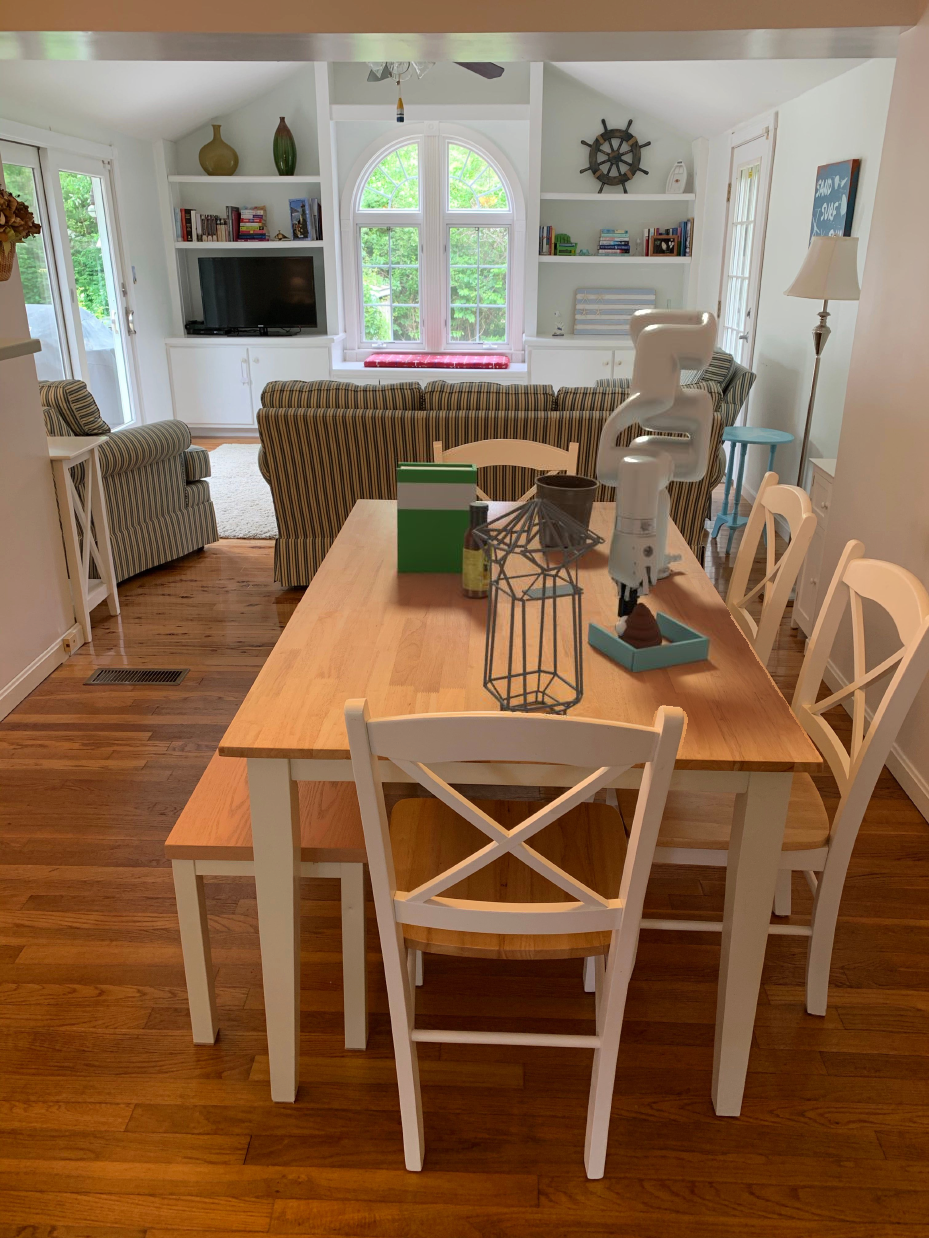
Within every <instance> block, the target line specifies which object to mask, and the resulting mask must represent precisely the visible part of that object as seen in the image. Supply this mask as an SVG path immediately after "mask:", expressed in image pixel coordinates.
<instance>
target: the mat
mask: <svg viewBox="0 0 929 1238" xmlns="http://www.w3.org/2000/svg"><path fill="white" fill-rule="evenodd" d="M526 590H527V589H522V590H521V592H522V593H523V594H524V593H525V591H526ZM572 592H573V588H572V586H571V584H569V583H565V584H558V585H557V584H556V595H560V594H567V593H572ZM582 594H584V590H583V591H581V595H582ZM552 595H553V585H551V586H546V592H545V596H552ZM526 596H528V597H530V598H536V597H542V587H534V588H530V590H529V591H528V592H527V594H526Z"/></svg>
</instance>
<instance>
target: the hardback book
mask: <svg viewBox="0 0 929 1238" xmlns="http://www.w3.org/2000/svg"><path fill="white" fill-rule="evenodd" d="M397 466H398V467H396V508H397V509H396V518H397V519H396V521H397V522H396V529H397V531H396V535H397V539H396V540H397V541H396V542H397V544H396V545H397V547H396V549H397V550H396V552H397V554H396V555H397V556H396V557H397V559H396V561H397V564H396V567H397V568H396V569H397V573H399V574H456V575H457V574H458V575H459V574H461V575H463V546H464V534H465V532H466V530H467V529H468V527H469V525H470V523H469V521H470V510H469V505H470V503H473V502H477V487H478V486H477V482H478V480H477V478H478V469H477V463H462V462H461V463H459V462H447V463H446V462H405V461H404V462H403V461H401V462H399V461H398V465H397Z"/></svg>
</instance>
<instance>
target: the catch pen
mask: <svg viewBox="0 0 929 1238" xmlns="http://www.w3.org/2000/svg"><path fill="white" fill-rule="evenodd" d="M655 619H656V621H657V623H658V626H659V628H660V631H661V634H662V637H664V638H666V639H667V640H669V641H671V642H672V643H666V644H662V645H659V646H653V647H648V648H642V649H635V648H633V647H632V646H630V645H629V644H627V643H625V642H624V641H622V640H621V639H619V638H618V637H617V636H615V635H614V634H613V633H611V632H610V631H608V630H606V629H605V628H604V627H602V626H600V625H598V623H596V622H594V621H590V622H589V623H588V633H587V643H588V644H590V645H591V646H593V647H594V648H596V649H597V650H599V651H600V652H602V653H603V654H605V655H606V656H607V657H609V658H611V659H612V660H613V661H615V662H617V663H618V664H620V665H621V666H623V667H624V668H625V669H627V670H629V671H630V672H632V673H639V672H645V671H649V670H651V671H652V670H655V669H660V668H666V667H671V666H677V665H682V664H688V663H692V662H693V663H694V662H699V661H704V660H708V659H709V658H708V657H709V648H710V640H711V639H710V637H708V636H706V635H704V634H703V633H701V632H699V631H697V630H696V629H693V628H691V627H689V626H688V625H686V624H684V623H682V622H680V621H678V620H677V619H675V618H673V617H671V616H669V615H667V614H665V613H664V612H662V611H657V612H656V615H655Z"/></svg>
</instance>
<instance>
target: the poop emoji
mask: <svg viewBox="0 0 929 1238" xmlns="http://www.w3.org/2000/svg"><path fill="white" fill-rule="evenodd" d="M614 631H615V633H616V635H617V636H618V638H619V639H621V640H622V641H624V642H625V643H627V644H629V645H630V646H632V647H633V648H635V649H642V648H648V647H653V646H659V645H663V636H662V634H661V631H660V628H659V626H658V623H657V621H656V616H655V615H654V614H653V613H652V611H651V609H650V608H649V607H648V606H647V605H646V604H645V603H644V602H637V605H636V606H635V607H634V609H633V612H632V613H631V614H630V615H629V616H623V617H622V618H619V620H618V622H616V623H615V625H614Z"/></svg>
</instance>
